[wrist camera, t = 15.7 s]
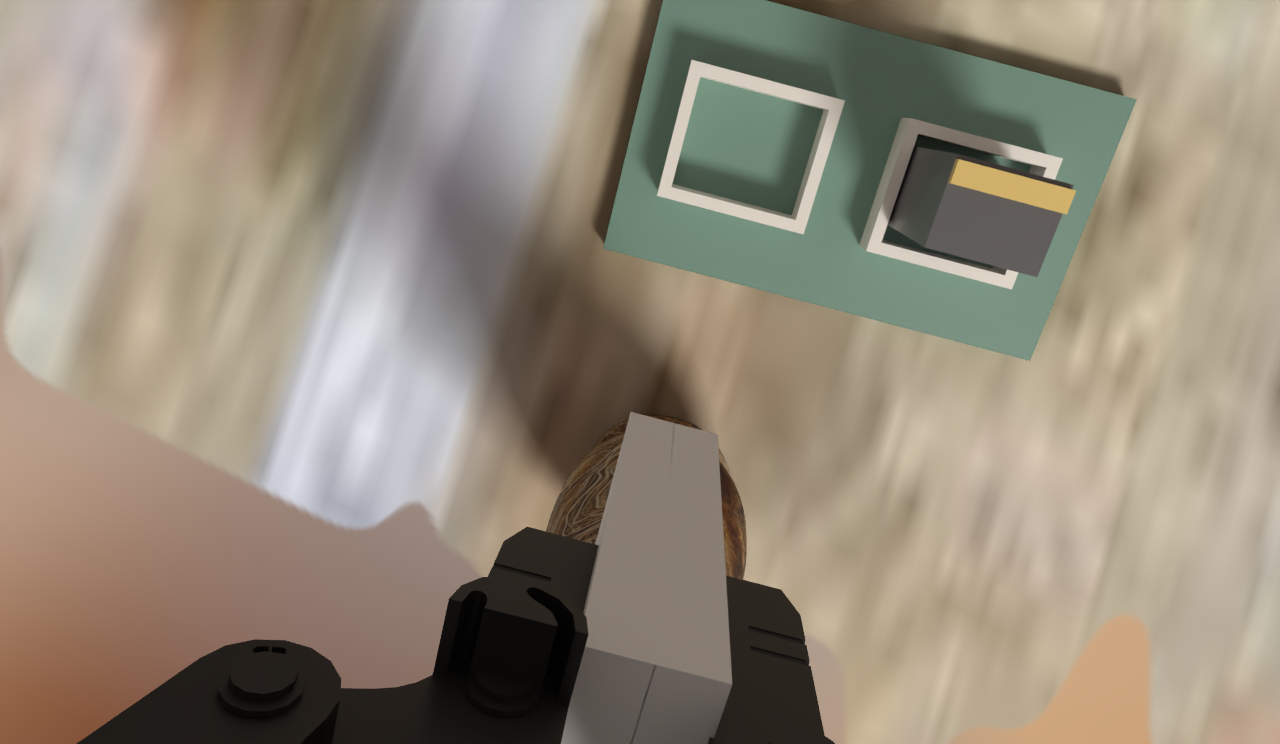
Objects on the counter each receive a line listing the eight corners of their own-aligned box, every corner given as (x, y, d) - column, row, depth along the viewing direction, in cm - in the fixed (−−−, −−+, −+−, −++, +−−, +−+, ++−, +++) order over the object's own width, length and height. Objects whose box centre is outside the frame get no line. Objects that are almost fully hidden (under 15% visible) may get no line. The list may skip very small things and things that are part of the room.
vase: (644, 589, 54) (585, 1126, 26) (528, 467, 52) (323, 902, 24) (775, 492, 52) (872, 966, 23) (659, 361, 50) (605, 701, 21)
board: (605, 245, 48) (599, 254, 45) (670, -23, 44) (668, -32, 41) (1022, 354, 48) (1043, 371, 45) (1125, 99, 44) (1156, 98, 41)
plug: (881, 221, 46) (926, 248, 37) (907, 145, 44) (960, 154, 35) (973, 245, 46) (1040, 279, 37) (1001, 170, 44) (1078, 185, 35)
